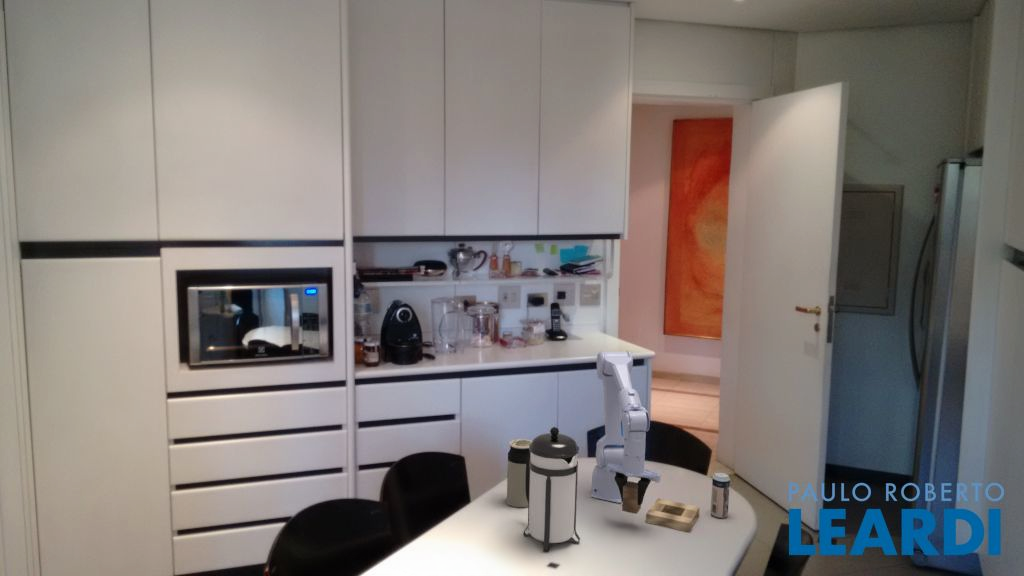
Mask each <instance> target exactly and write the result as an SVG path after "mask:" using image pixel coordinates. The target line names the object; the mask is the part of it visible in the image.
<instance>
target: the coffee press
mask: <svg viewBox="0 0 1024 576" xmlns="http://www.w3.org/2000/svg"><path fill="white" fill-rule="evenodd" d="M549 432H550V433H542V434H540V435H537V436H535V437H534V438H533V439H532V440H531V441H532V443H531V444H530V445H529V450H530V452H529V454H528V456H527V460H526V484H525V489H526V498H527V501H528V507H527V512H528V513H527V526H526V528H525V529H524V530H523V533H522V534H523V537H526V538H527V537H530V535H531V537H533V538H534V539H536V540H537V541H540V542H543V546H542V550H543V551H542V552H547V553H549V551H550V547H551V544H559V543H564V542H566V541H568V540H571V541H572V543H573V544H575V545H577V544H579V543H580V541H581V538H580V536H579V535H578V532H577V501H578V476H579V475H578V473H579V472H578V471H579V462H578V454H579V452H580V446H579V445H578V443H577V441H575V439H574V438H572V437H571V436H569V435H567V434H563V433H560V430H559V428H558V427H555V426H553V427H551V428H550V430H549ZM527 529H528V533H526V531H527ZM573 536H575V537H576V539H577V540H575V538H574V537H573Z"/></svg>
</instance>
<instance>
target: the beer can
mask: <svg viewBox="0 0 1024 576" xmlns="http://www.w3.org/2000/svg"><path fill="white" fill-rule="evenodd" d="M730 483H731V478H730V476H729V474H727V473H725V472H722V471H721V472H720V471H719V472H717V471H716V472H714V473H713V475H712V479H711V500H710V501H711V502H710V515H712V516H713V517H715V518H717V519H724V518H726V517H728V516H729V504H730V503H729V501H730V500H729V499H730V487H731V486H730Z"/></svg>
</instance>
